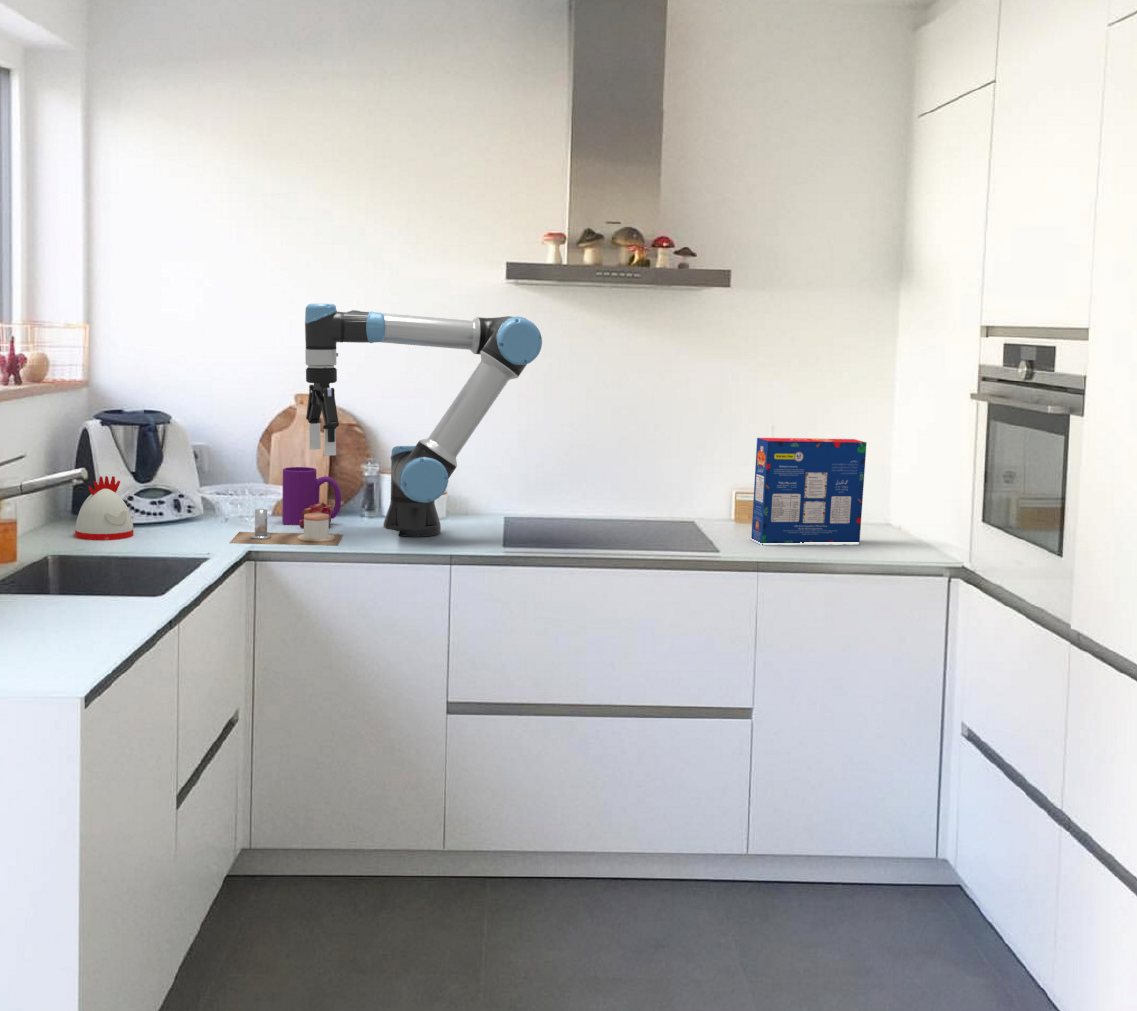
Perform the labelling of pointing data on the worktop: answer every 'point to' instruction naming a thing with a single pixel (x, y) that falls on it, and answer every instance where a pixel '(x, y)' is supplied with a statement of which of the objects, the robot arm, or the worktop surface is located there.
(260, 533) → the post
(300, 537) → the coaster
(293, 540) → the board
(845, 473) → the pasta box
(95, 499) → the kitchen timer
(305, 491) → the mug
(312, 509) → the flower
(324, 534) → the cap
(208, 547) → the worktop surface
